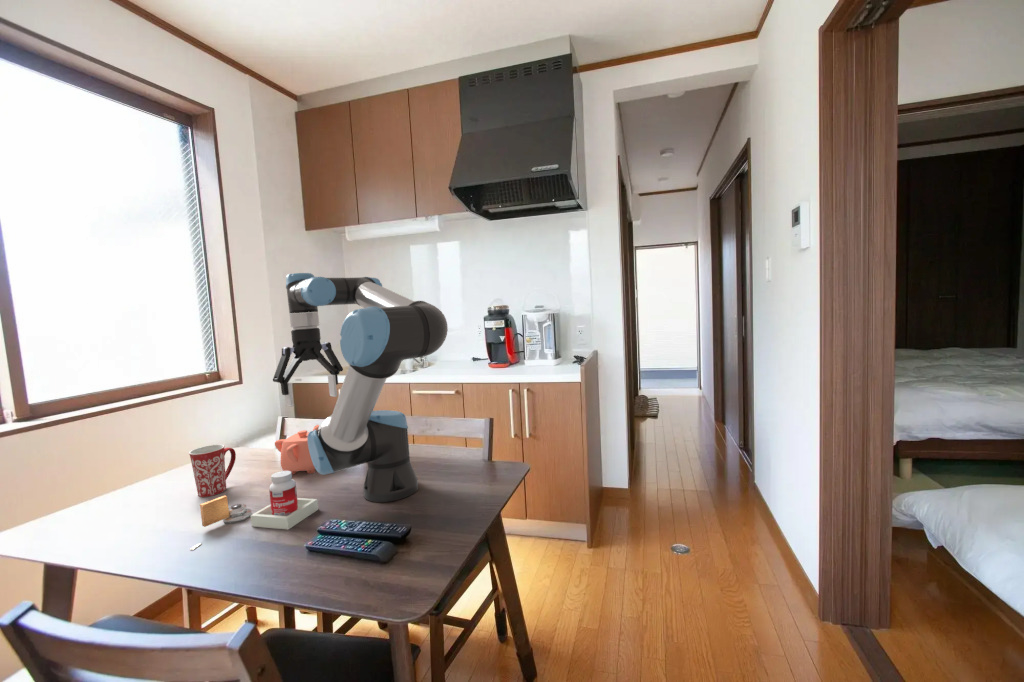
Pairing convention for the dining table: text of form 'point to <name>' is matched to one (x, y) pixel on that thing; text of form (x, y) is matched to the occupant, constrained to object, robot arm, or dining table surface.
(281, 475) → the pill bottle
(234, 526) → the dining table surface
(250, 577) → the dining table surface
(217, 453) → the mug
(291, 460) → the pink toy figure
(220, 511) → the tan and grey pieces
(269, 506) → the tray
